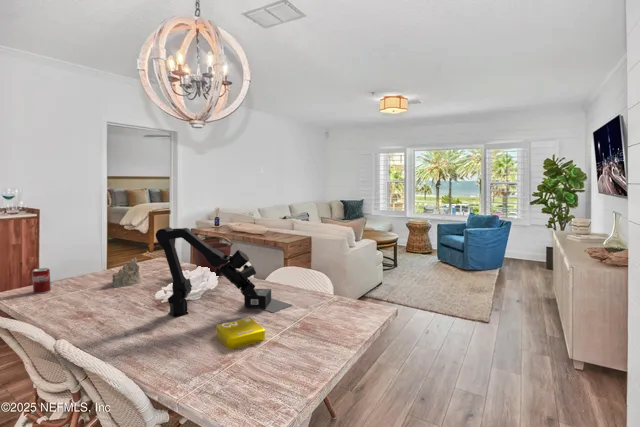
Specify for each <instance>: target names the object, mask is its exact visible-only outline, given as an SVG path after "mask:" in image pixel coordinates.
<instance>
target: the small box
mask: <svg viewBox="0 0 640 427" xmlns="http://www.w3.org/2000/svg"><path fill="white" fill-rule="evenodd" d="M254 290H255V292H256V293H257V296H252V295H248V296H247V297H245V296H244V295H243V296H244V298H243V300H244V302H243V304H244V308H248V309H249V308H250V309H260V308H266V307H267V306H268V304H269V303H270V302H271V298H272V289H271V288H254Z"/></svg>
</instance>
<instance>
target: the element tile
mask: <svg viewBox="0 0 640 427" xmlns="http://www.w3.org/2000/svg"><path fill="white" fill-rule="evenodd" d="M215 331H216V338H217V339H218V341H220V342H221V343H222V344H223V345H224V347H225V348H226V349H229V350H233V349H239V348H242V347H245V346H248V345H252V343H253V344H256V343H260V342H262V341H265V339H266V335H265V334H266V329H265V328H264V327H263V325H261V324H260V323H258V322H257V321H256V320H254V319H253V318H251V317H246V318H242V319H238V320H237V319H236V320H232V321H228V322H224V323H220V324H217V325H216V330H215ZM259 341H260V342H259ZM255 342H256V343H255Z"/></svg>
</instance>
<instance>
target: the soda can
mask: <svg viewBox="0 0 640 427" xmlns="http://www.w3.org/2000/svg"><path fill="white" fill-rule="evenodd" d="M50 271H51V270H50V268H48V267H42V268H36V269H33V270H32V271H31V277H32V280H31V281H32V292H33V294H36V295H41V294H45V293H49V292H50V291H51V290H52V289H51V288H52V287H51V272H50Z"/></svg>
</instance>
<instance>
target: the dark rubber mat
mask: <svg viewBox="0 0 640 427" xmlns="http://www.w3.org/2000/svg"><path fill="white" fill-rule="evenodd" d="M289 306H290V307H292V306H293V304H291V303H288V302H285V301H282V300H279V299H276V298H274V297H273V298H272V297H271V302H270V303H269V304H268V306H267V307H266V308H259V309H261V310H263V311H266V312H269V313H272V314H274V313H276V311H277V312H280V311H281V309H282V310H284V309H286V308H289Z"/></svg>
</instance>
